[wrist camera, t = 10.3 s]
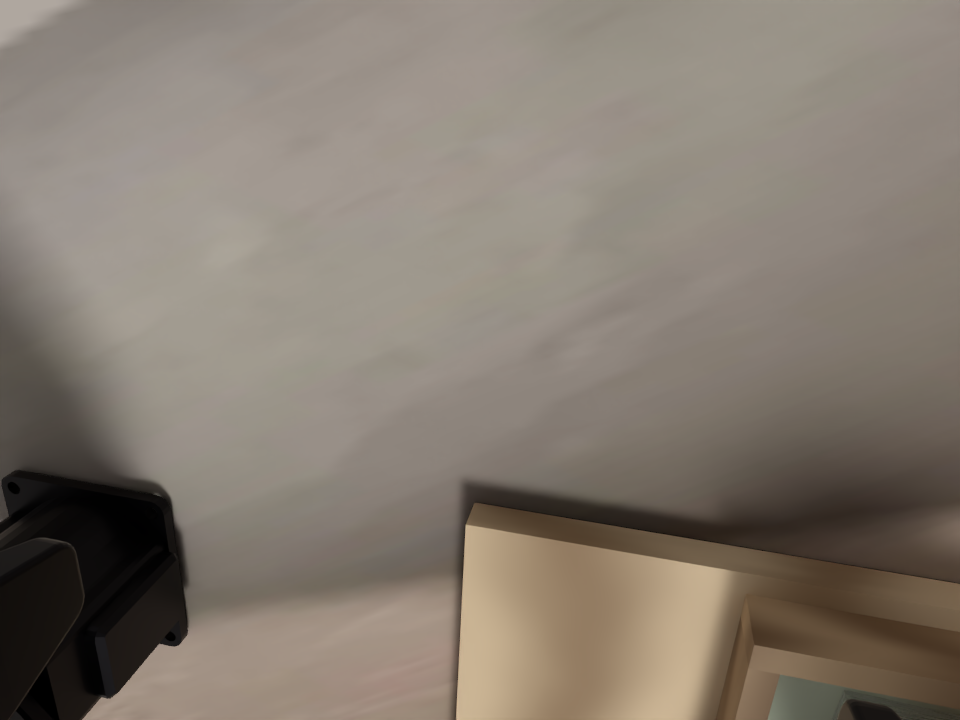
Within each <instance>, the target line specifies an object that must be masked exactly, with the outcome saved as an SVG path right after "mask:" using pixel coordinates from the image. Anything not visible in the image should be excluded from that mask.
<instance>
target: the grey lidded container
mask: <svg viewBox="0 0 960 720" xmlns="http://www.w3.org/2000/svg"><path fill="white" fill-rule="evenodd" d="M849 699H856V700H861V701H866V702H871V703H876V704H881V705H885V706H887V707H889V708H891V709H892V710H893V711H895V712H896V713H897V714H898V715H899V716H900V718H901V719H902V720H960V716H959V715H954V714H950V713H946V712H941V711H937V710H932V709H928V708H924V707H919V706H915V705H910V704H906V703H901V702H897V701H893V700H888V699H884V698H879V697H875V696H871V695H866V694H862V693H857V692H853V691H848V690H843V693H842V695H841V698H840V700H839V703H838V705H837V708H836V710H835V713H834V716H833V718H832V720H837V718H838V715H839V712H840V709H841V707H842V705H843V704H844V702H845V701H847V700H849Z"/></svg>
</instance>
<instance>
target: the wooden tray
mask: <svg viewBox="0 0 960 720" xmlns="http://www.w3.org/2000/svg"><path fill="white" fill-rule="evenodd" d="M843 690H848V691H853V692H857V693H862V694H866V695H871V696H875V697H879V698H884V699H888V700H893V701H897V702H901V703H906V704H910V705H915V706H919V707H924V708H928V709H932V710H937V711H941V712H946V713H950V714H954V715H959V716H960V584H957V583H951V582H945V581H939V580H933V579H927V578H921V577H915V576H909V575H903V574H897V573H891V572H885V571H879V570H873V569H868V568H862V567H856V566H850V565H844V564H838V563H832V562H826V561H820V560H814V559H808V558H802V557H796V556H790V555H784V554H778V553H772V552H766V551H760V550H754V549H748V548H743V547H737V546H731V545H725V544H719V543H713V542H707V541H701V540H695V539H689V538H683V537H677V536H671V535H665V534H659V533H653V532H647V531H641V530H635V529H629V528H623V527H618V526H612V525H606V524H600V523H594V522H588V521H582V520H576V519H570V518H564V517H558V516H552V515H546V514H540V513H534V512H528V511H522V510H516V509H510V508H504V507H498V506H492V505H487V504H481V503H474V505H473V508H472V510H471V513H470V515H469V518H468V520H467V523H466V530H465V550H464V570H463V590H462V610H461V630H460V650H459V670H458V690H457V710H456V720H832V718H833V716H834V713H835V710H836V708H837V705H838V703H839V700H840V698H841V695H842V693H843Z"/></svg>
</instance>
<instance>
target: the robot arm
mask: <svg viewBox="0 0 960 720" xmlns="http://www.w3.org/2000/svg"><path fill="white" fill-rule="evenodd" d="M2 489H3V493H4V497H5V501H6V505H7V509H8V514H9V517H7V518H6V519H5V520H3V521H2V522H0V720H82V719H83V718H84V717H85V716H86V714H87V713H88V712H89V711H90V710H91V709H92V707H93V706H94V705H95V704H96V703H97V702H98V700H99V699H100V698H101V697H103V698H107V699H108V698H111V697H113V696H114V695H115V694H117V693H118V692H119V691H120V690H121V688H122V687H123V686H124V685H125V684H126V682H127V681H128V680H129V679H130V678H131V677H132V675H133V674H134V673H135V672H136V671H137V669H138V668H139V667H140V666H141V665H142V663H143V662H144V661H145V660H146V659H147V657H148V656H149V655H150V654H151V653H152V651H153V650H154V649H155V648H156V647H157V645H158V644H164V645H168V646H178V645H179V644H180V643H181V642H182V641H183V640H184V638H185V637H186V636H187V633H188V630H187V623H186V615H185V606H184V598H183V591H182V584H181V577H180V569H179V562H178V558H177V550H176V543H175V536H174V529H173V522H172V514H171V508H170V506H169V504H168V502H167V501H166V500H165V499H163V498H162V497H160V496H157V495H153V494H148V493H142V492H136V491H131V490H125V489H120V488H114V487H109V486H103V485H98V484H92V483H87V482H81V481H76V480H70V479H64V478H59V477H53V476H48V475H42V474H37V473H31V472H26V471H20V470H15V471H14V472H12V473H10V474H9V475H7V476H6V477H4V478H3V480H2ZM152 508H153V509H154V510H155V511H156V512H155V511H154V510H153V509H152ZM837 720H902V719H901V718H900V716H899V715H898V714H897V713H896V712H895V711H893V710H892V709H891V708H889V707H887V706H885V705H881V704H876V703H871V702H866V701H861V700H856V699H849V700H847V701H845V702H844V704H843V705H842V707H841V709H840V712H839V715H838V718H837Z"/></svg>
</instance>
